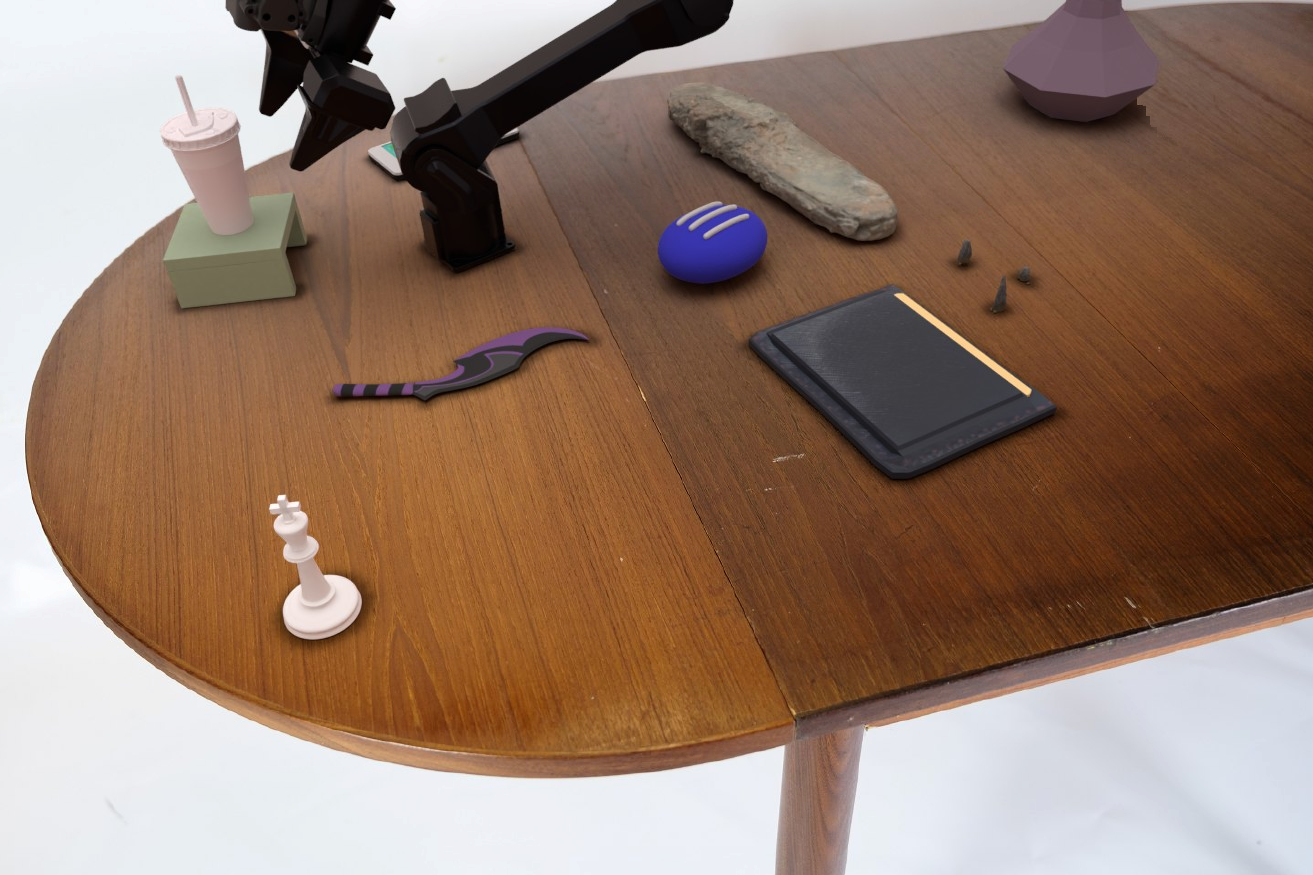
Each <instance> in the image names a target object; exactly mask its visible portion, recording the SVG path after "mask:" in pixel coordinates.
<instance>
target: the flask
mask: <svg viewBox="0 0 1313 875" xmlns="http://www.w3.org/2000/svg"><path fill="white" fill-rule="evenodd" d="M1159 66H1160V58H1159V57H1158V56H1157V55H1156V54H1155V52H1154V51H1153V49H1152V48H1151V47H1150V45H1149V44H1148V43H1147V42H1146V41H1145V39H1144V38H1143V37H1142V35H1141V34H1140V33H1139V32H1138V30H1137V28H1136V27H1135V25H1134V24H1133V22H1132V20H1131V19H1130V17H1129V16H1128V14H1127V12H1126V11H1125V9H1124V7H1123V0H1065V2H1063V3H1062V5H1060V6H1059V7H1057V9H1056V10H1055V11H1054V12H1052V13H1051V14H1050V15H1049V16H1048V17H1046V19H1045V20H1044V21H1043V22H1042V23H1040V24H1038V25H1037V26H1036V27H1035V28H1033V29H1032V30H1031V31H1029V32H1028V33H1027V34H1026V35H1024V36H1023V37H1022V38H1020V39H1019V40H1017V41H1016V42H1015V43H1013V44H1012V45H1011V48H1010V50H1009V52H1008V55H1007V57H1006V58H1005V62H1004V65H1003V66H1002V69H1003V71H1004V73H1006V75H1007V77H1008V78H1009V79H1010V80H1011V82H1012V83H1013V85H1014V86H1015V87H1016V89H1017V90H1018V92H1020V94H1021V95H1022V97H1023V98H1024V100H1025V101H1026V102H1027V103H1028V105H1029V106H1031V107H1032V108H1034V109H1035V110H1037V111H1039V112H1040V113H1042V114H1044V115H1045V116H1047V117H1048V118H1050V119H1057V120H1066V121H1076V122H1085V123H1087V122H1091V121H1096V120H1099V119H1103V118H1106V117H1110V116H1114V115H1115V114H1117V113H1118V112H1120V111H1121V110H1122V109H1124V108H1125V107H1127V106H1128V105H1129V104H1131V103H1132V102H1133V101H1135V100H1136V99H1137V98H1139V97H1140V96H1142V95H1143V94H1145V93H1146V92H1147V91H1149V90H1150V89H1151V88H1152V87H1154V86H1156V84H1157V80H1158V79H1157V78H1158V74H1159V73H1158V72H1159Z"/></svg>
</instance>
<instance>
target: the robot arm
mask: <svg viewBox="0 0 1313 875" xmlns="http://www.w3.org/2000/svg"><path fill="white" fill-rule="evenodd" d="M733 6H734V0H615V1H614V2H613V3H611V4H610V5H609V6H607V7H605V8H604V9H602V10H600V11H599V12H597V13H595V14H594V15H592V16H590V17H588V18H587V19H584V21H582V22H581V23H579V24H577V25H575V26H574V27H572V28H570V29H569V30H567V31H565V32H564V33H562V34H560V35H559V36H557V37H556V38H554V39H552V40H551V41H549V42H547V43H546V44H544V45H542V46H540V47H539V48H537V49H536V50H534V51H532V52H530V53H529V54H528V55H526V56H524V57H522V58H521V59H518V61H516V62H514V63H512V64H511V65H509V66H507V67H506V68H504V69H502V70H501V71H499V72H498V73H496V74H495V75H493V76H491V77H489V78H487V79H486V80H485V81H483V82H480V84H477V85H475V86H473V87H467V88H461V89H455V90H454V89H453V90H451V88H450V85H449V83H448V81H447V79H446V78H445V77H441V78H439V79H437V80H436V81H434V82H432V84H431V85H429V86H428V87H427V88H426V89H425V90H423V91H422V92H420V93H418V94H416V95H412V96H407V97H404V98H403V102H404V105H405V106H404V107H402V108H401V109H400V110H399V111H397V112H396V113H395V116H394V117H393V114H394V112H395V110H396V106H395V102H394V100H393V96H392V95H391V93H390V91H389V90H388V89H387V87H386V86H385V84H384V83H383V81H382V80H381V79H380V77H379V76H378V74H377V73H376V72H372V71H370V70H367V69H366V68H363V67H360V66H358V65H355V64H353V63H354V61H355V62H357V63H360V64H362V65H365V66H368V67H369V65H370V63H371V61H372V59H373V57H374V53H373V52H372V50H371V49H370V48H369V46H368V44H369V41H370V39H371V37H372V35H373V33H374V31H375V29H376V26H377V25H378V23H379V21H380V19H381V17H382V18H384V19H387V20H389V21H391V20H392V18H393V16H394V14H395V12H396V9H397V8H396V7H395V5H394V4H393V3H392V2H391V0H225V10H226V12H229V15H231V16H230V17H232V20H233V24H234V25H235V26H236V27H237V28H238V29H241V30H243V31H247V32H255V33H256V32H259V31H260V33H261V34H262V36H263V38H264V41H265V55H264V56H265V57H264V64H263V65H264V66H263V74H262V82H261V89H260V98H259V104H258V111H259V113H260V115H263V116H266V117H270V118H271V117H273V116H274V115H275V114H276V113H277V112H278V111H279V110H280V109H281V108H282V107H283V106H284V105H285V104H286V103H287V101H288V100H289V99H290V98H291V97H292V95H294V93H296V91H297V90H298V92H299V95H300V97H301V100H302V103H303V104H304V108H305V111H304V113H303V117H302V120H301V123H300V126H299V129H298V132H297V135H296V139H295V142H294V146H293V149H292V152H291V156H290V160H289V168H290V169H291V170H293V171H297V172H304V171H306V170H307V169H308V168H310V167H311V166H313V165H314V164H315V163H317V162H318V161H319V160H321V159H323V158H324V157H325V156H326V155H328V154H329V153H331V152H332V151H334V150H335V149H336V148H338V147H340V146H341V145H342V144H344V143H346V142H347V141H349V140H351V139H352V138H354V137H355V136H358V135H359V134H361V133H362V132H364V131H369V132H373V131H374V130H375V129H378V130H381V131H382V130H385V129H386V128H387V126H388V124H389V122H390V121H391V118H392V117H393V118H392V123H391V127H390V131H389V134H390V141H391V143H392V146H393V149H394V152H395V155H396V158H397V160H398V163H399V166H400V169H401V172H402V174H403V176H404V178H405V179H404V180H405V181H406V182H407V183H408V184H409V185H410V186H411V187H412V188H413V189H416V190H417V191H419V192H420V198H421V202H422V207H423V209H421V210H420V211H419V219H420V224H421V227H422V234H423V237H424V240H423V245H424V247H425V248H426V250H427V251H428V252H429V253H430V254H432V256H434V257H435V258H436V259H437V260H439V261H441V262H442V263H443V264H444V265H445V266H447V267H448V268H449V269H450V270H451V271H452V272H454V273H459V272H462V271H465V270H468V269H470V268H472V267H474V266H477V265H480V264H482V263H484V262H487V261H490V260H492V259H495V258H497V257H499V256H502V255H504V254H507V253H510V252H512V251H514V250H515V249H516V243H515V241H513V240H511V239H510V238H509V237H508V236H507V235H506V230H505V223H504V217H503V211H502V205H501V198H500V192H499V185H498V184H499V183H498V182H497V181H496V177H495V176H494V174H493V172H492V170H491V168H490V166H489V165H490V164H489V163H488V161H487V158H488V157H489V156H490V154H491V153H492V151H494V149H495V148H496V146H498V145H497V143H498V142H499V140H500V139H501V138H502V137H503V136H504V135H506V134H507V133H509V132H510V131H512V130H514V129H515V128H519V127H521V126H523V125H524V124H526V123H527V122H528V121H530V120H532V119H534V118H536V117H537V116H539V115H540V114H542V113H544V112H545V111H548V109H550V108H552V107H554V106H555V105H557V104H558V103H560V102H562V101H563V100H565V99H567V98H569V97H570V96H572V95H574V94H575V93H577V92H579V91H580V90H582V89H584V88H585V87H587V86H589V85H590V84H592V83H594V82H595V81H597V80H599V79H600V78H602V77H603V76H605V75H607V74H608V73H610V72H612V71H614V70H616V69H617V68H619V67H621V66H622V65H624V64H626V63H627V62H629V61H630V60H632V59H634V58H635V57H637V56H639V55H642V54H643V53H645V52H651V51H657V50H664V49H671V48H677V47H682V46H685V45H687V44H690V43H692V42H695V41H697V40H700V39H703V38H705V37H707V36H710V35H712V34H714V33H716V32H718V31H719V30H720V29H721V28H722V27H724V26H725V25H726V24H727V22H728V21H729V19H730V14H731V11H732V9H733Z"/></svg>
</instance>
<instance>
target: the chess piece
mask: <svg viewBox="0 0 1313 875" xmlns="http://www.w3.org/2000/svg"><path fill="white" fill-rule="evenodd" d="M276 502H277V503H270V504H269V508H268V510H269V512H270V515H278V516H277V517H276V518H275V519H274V522H273V530H274V531H275V533H276V534H277V535H278V536H279V537H280V538H281V539H283V541H284V542H285V543H286V544H285V545H284V546H283V553H282V555H283V558H284V560H285V561H287V562H289V563H291V564H296V567H297V572H298V578H299V582H300V583H299V584H298V585H296V586H295V588H293V589H292V590H291V591H290V593H289V594H288V595H287V597H286V598H285V601H284V603H283V606H282V616H283V622H284V625H285V627H286V629H287V631H289V632H290V633H291V634H292V635H294V636H295V637H298V638H301V639H304V640H321V639H326V638H330V637H332V636H335V635H337V634H339V633H341V632H343V631H344V630H346V629H347V628H348V627H350V626H351V625H352V624H353V623H354V622H355V620H356V619H357V618H358V616H359V614H360V612H361V609H362V605H363V604H362V603H363V601H362V596H361V595H362V594H361V593H360V591H359V590H358V587H357V586H356V585H355V583H354V582H353V581H351V579H349V578H347V577H345V576H341V575H337V574H323V572H322V571H321V569H320V566H318V564H317V562H316V560H315V559H314V557H315V556H316V555H317V553H318V551H319V548H320V545H319V542H318V541H317V540H316V538H314V537H312V536H311V535H308V528H309V517H308V515H307V514H306V513H305V511H302V510H301V509H302V505H301V502H300V501H289V500H288V497H287V494H280V495H277V499H276Z"/></svg>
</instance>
